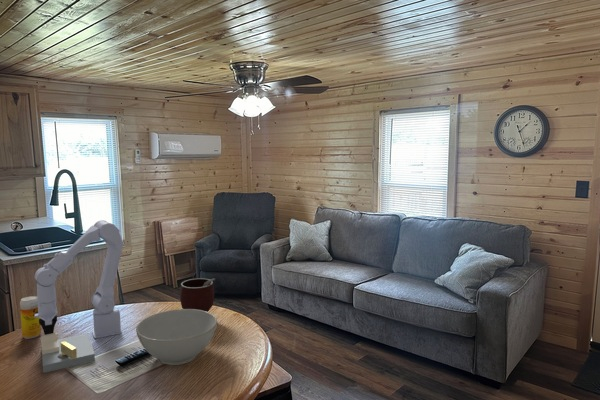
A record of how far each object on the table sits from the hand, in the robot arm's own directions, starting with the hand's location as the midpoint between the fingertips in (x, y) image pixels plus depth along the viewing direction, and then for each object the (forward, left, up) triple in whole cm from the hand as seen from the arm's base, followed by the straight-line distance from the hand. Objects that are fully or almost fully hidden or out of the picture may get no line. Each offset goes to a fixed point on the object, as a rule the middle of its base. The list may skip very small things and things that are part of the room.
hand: (49, 337), depth 151 cm
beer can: (+5, -15, -4) cm, 16 cm away
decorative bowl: (-38, +31, -4) cm, 49 cm away
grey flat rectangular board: (-5, +10, -4) cm, 12 cm away
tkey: (-5, +18, -1) cm, 19 cm away
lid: (0, +7, -1) cm, 7 cm away
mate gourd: (-54, +7, -4) cm, 54 cm away
